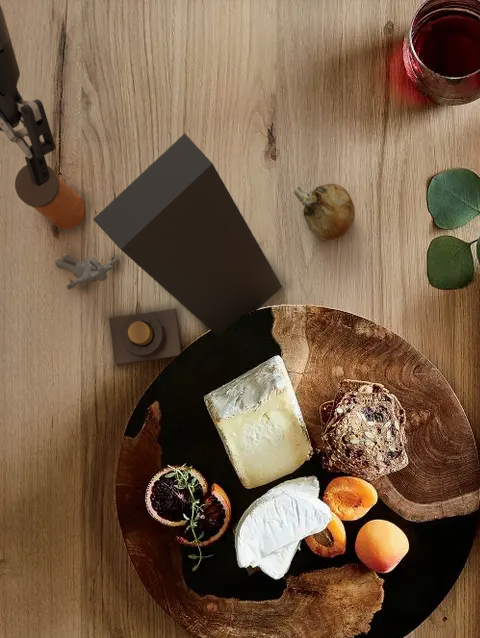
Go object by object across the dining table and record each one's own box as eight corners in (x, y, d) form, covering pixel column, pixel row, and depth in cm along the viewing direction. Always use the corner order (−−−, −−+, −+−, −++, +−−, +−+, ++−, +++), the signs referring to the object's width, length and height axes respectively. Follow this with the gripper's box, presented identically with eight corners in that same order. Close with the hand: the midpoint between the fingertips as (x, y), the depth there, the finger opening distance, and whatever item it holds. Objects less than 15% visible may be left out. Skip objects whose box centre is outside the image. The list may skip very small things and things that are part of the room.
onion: (314, 254, 122) (308, 236, 114) (297, 202, 122) (290, 181, 114) (363, 237, 122) (360, 219, 114) (346, 186, 122) (342, 164, 114)
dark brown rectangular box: (151, 262, 123) (8, 127, 79) (210, 207, 122) (99, 40, 78) (223, 341, 122) (120, 249, 78) (282, 286, 122) (212, 163, 78)
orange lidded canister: (49, 232, 123) (17, 208, 113) (44, 193, 123) (12, 165, 113) (88, 227, 123) (60, 202, 113) (83, 187, 123) (54, 159, 113)
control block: (117, 365, 123) (111, 362, 120) (110, 318, 123) (104, 315, 120) (182, 356, 123) (178, 353, 120) (176, 309, 123) (172, 305, 120)
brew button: (132, 346, 121) (129, 344, 119) (130, 325, 121) (126, 322, 119) (154, 343, 120) (151, 341, 119) (151, 322, 120) (148, 319, 119)
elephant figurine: (83, 229, 123) (126, 246, 120) (91, 266, 127) (134, 283, 124) (29, 255, 117) (73, 273, 113) (40, 293, 121) (83, 311, 118)
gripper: (-99, 32, 93) (-48, 170, 105) (-4, 63, 89) (37, 202, 101) (-47, 11, 97) (-4, 146, 109) (46, 40, 93) (79, 176, 106)
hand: (16, 173), depth 105 cm, fingers open, 8 cm apart
